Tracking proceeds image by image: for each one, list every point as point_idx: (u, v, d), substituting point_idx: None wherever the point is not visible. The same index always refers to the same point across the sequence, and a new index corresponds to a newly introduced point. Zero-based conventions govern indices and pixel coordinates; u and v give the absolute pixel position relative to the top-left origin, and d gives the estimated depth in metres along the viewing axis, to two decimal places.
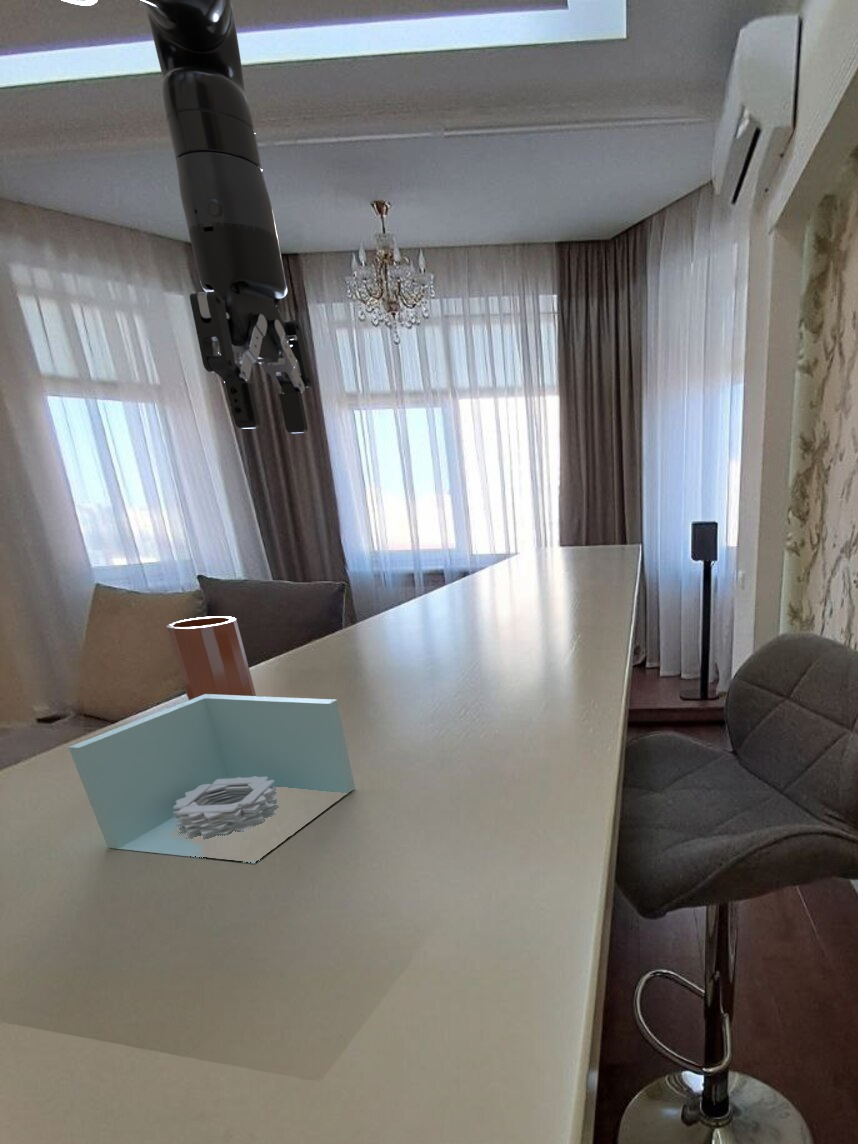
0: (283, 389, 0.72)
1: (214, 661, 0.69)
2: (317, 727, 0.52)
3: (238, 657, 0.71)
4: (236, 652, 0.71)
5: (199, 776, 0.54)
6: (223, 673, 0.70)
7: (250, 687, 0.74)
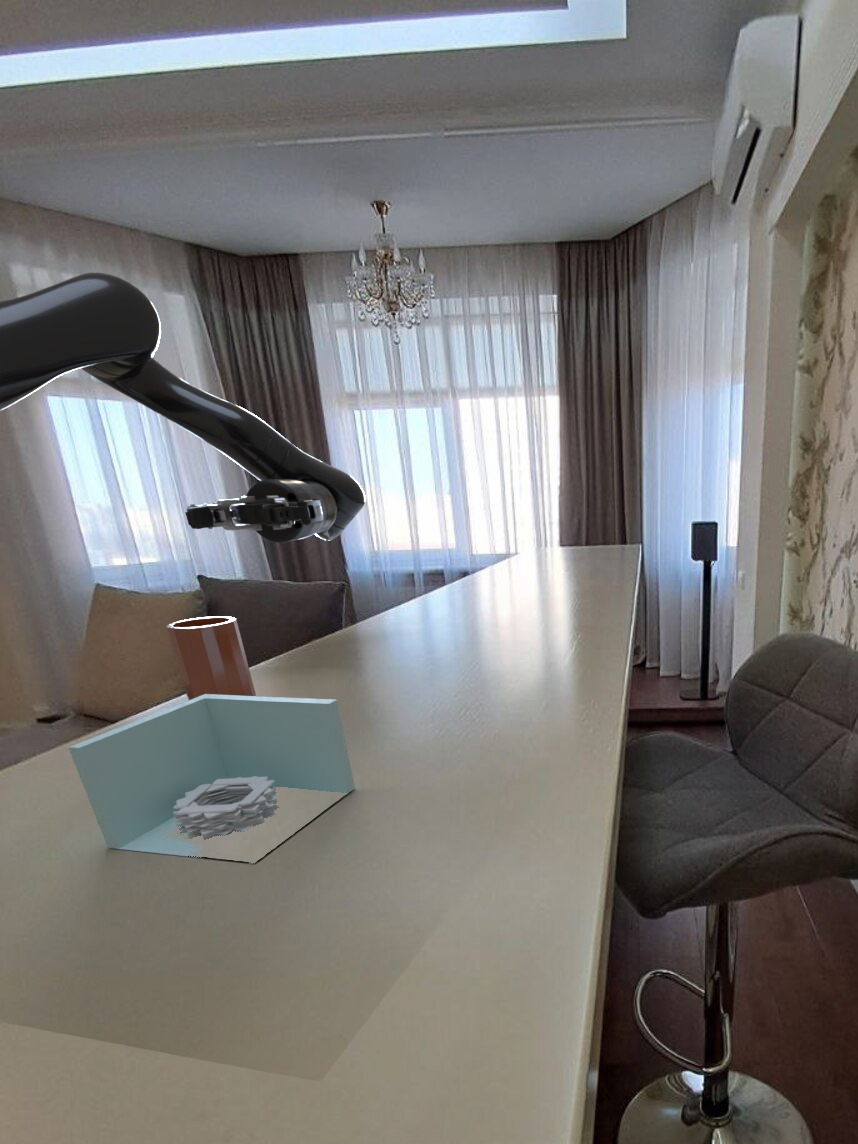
0: (209, 510, 0.80)
1: (214, 661, 0.69)
2: (317, 727, 0.52)
3: (238, 657, 0.71)
4: (236, 652, 0.71)
5: (199, 776, 0.54)
6: (223, 673, 0.70)
7: (250, 687, 0.74)
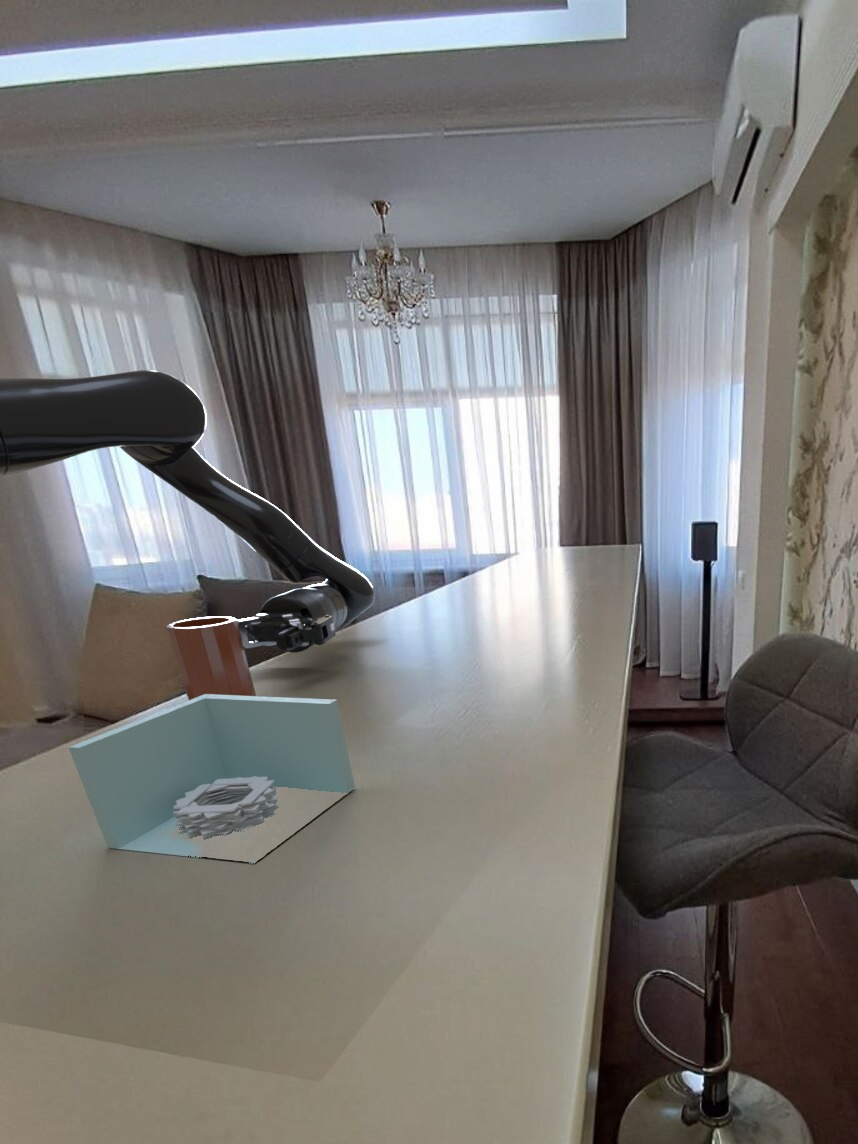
0: None
1: (214, 661, 0.69)
2: (317, 727, 0.52)
3: (238, 657, 0.71)
4: (236, 652, 0.71)
5: (199, 776, 0.54)
6: (223, 673, 0.70)
7: (250, 687, 0.74)
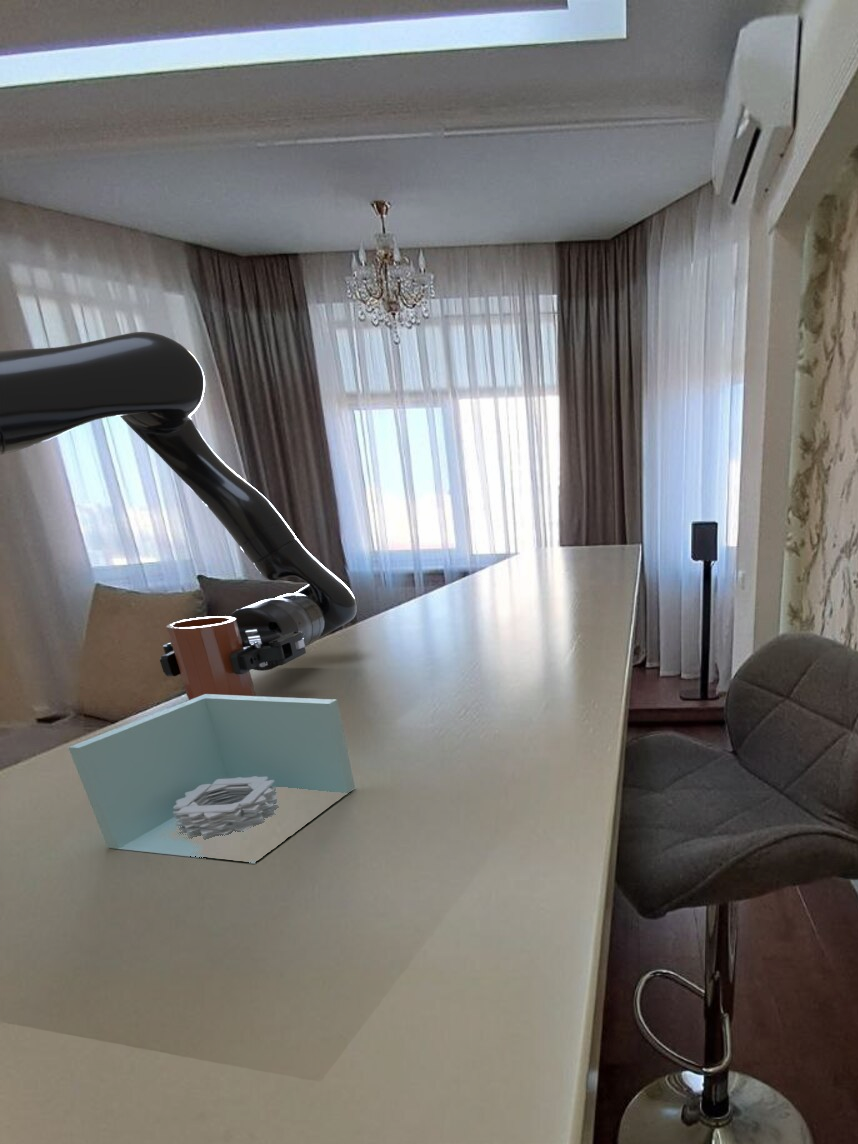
0: None
1: (214, 661, 0.69)
2: (317, 727, 0.52)
3: None
4: None
5: (199, 776, 0.54)
6: (223, 673, 0.70)
7: (250, 687, 0.74)
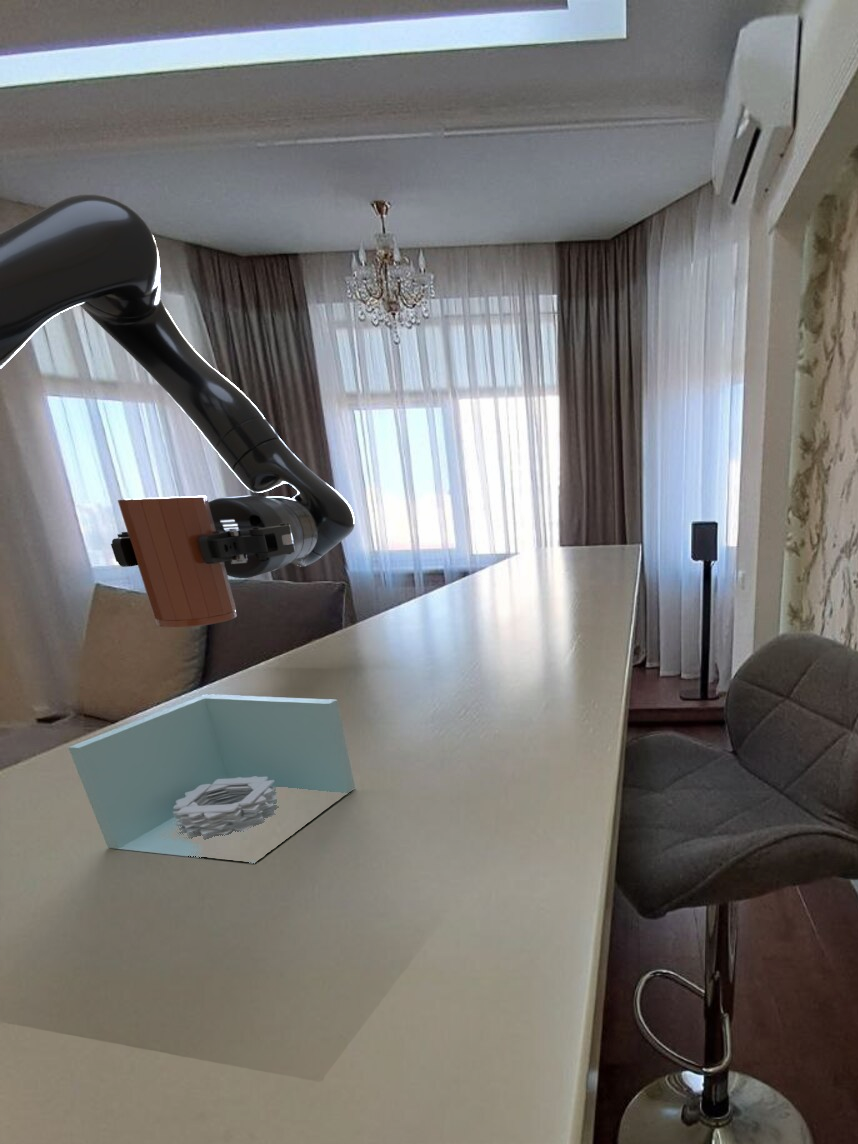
0: None
1: (178, 545, 0.55)
2: (317, 727, 0.52)
3: None
4: None
5: (199, 776, 0.54)
6: (190, 561, 0.56)
7: (225, 584, 0.60)
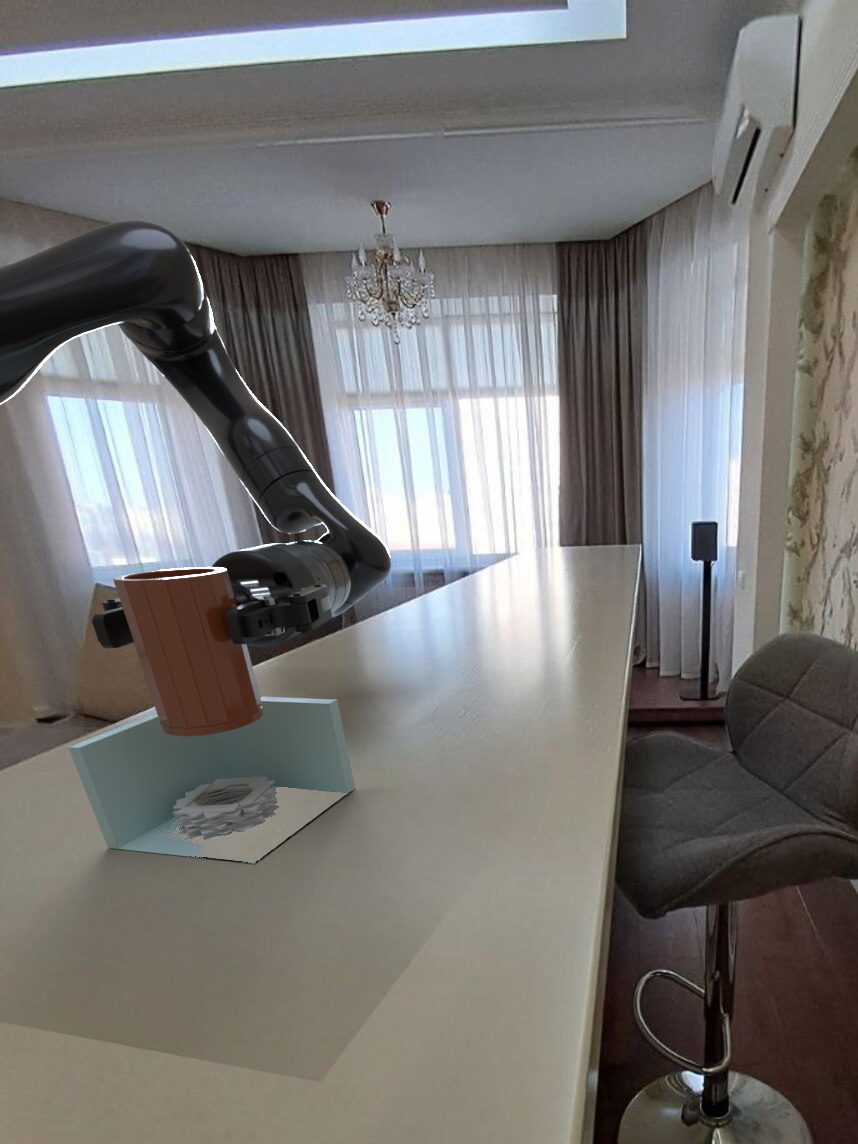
0: None
1: (191, 635, 0.43)
2: (317, 727, 0.52)
3: None
4: None
5: (199, 776, 0.54)
6: (206, 655, 0.44)
7: (250, 678, 0.47)
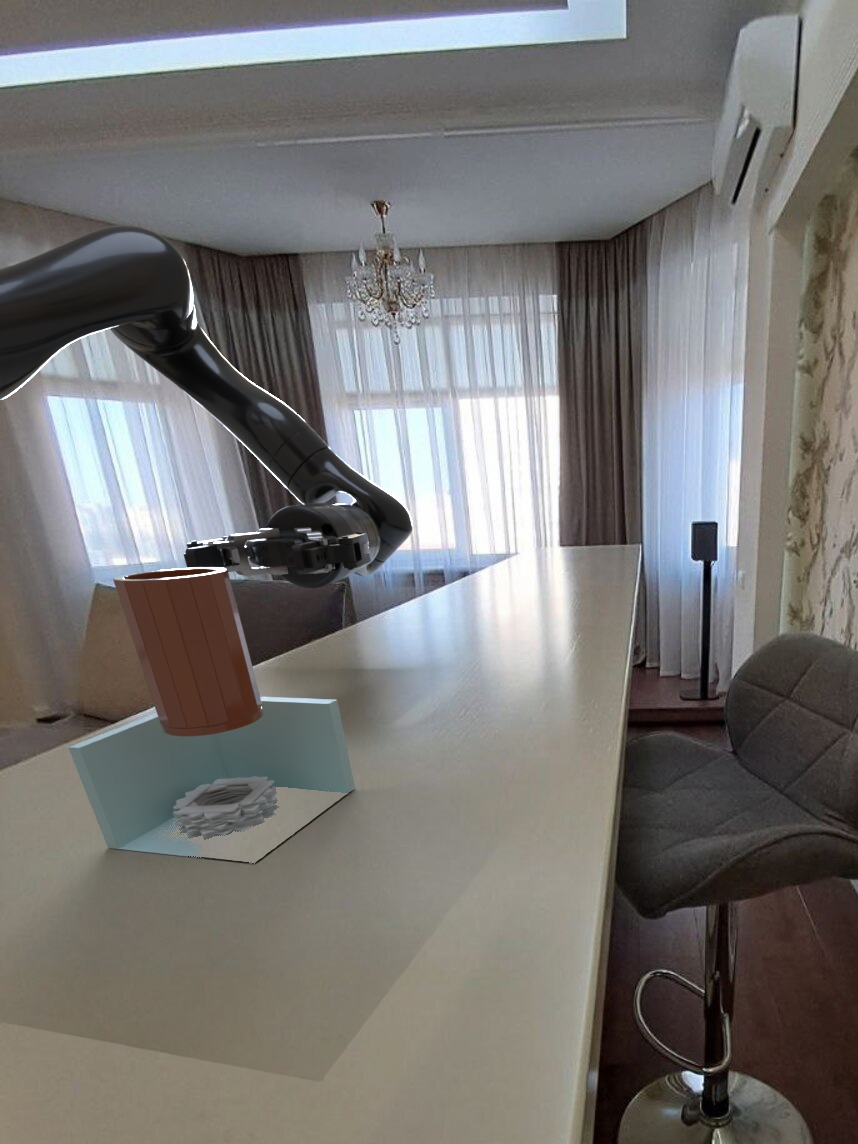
0: (217, 550, 0.58)
1: (191, 636, 0.43)
2: (317, 727, 0.52)
3: (231, 630, 0.45)
4: (227, 622, 0.45)
5: (199, 776, 0.54)
6: (206, 655, 0.44)
7: (250, 679, 0.47)
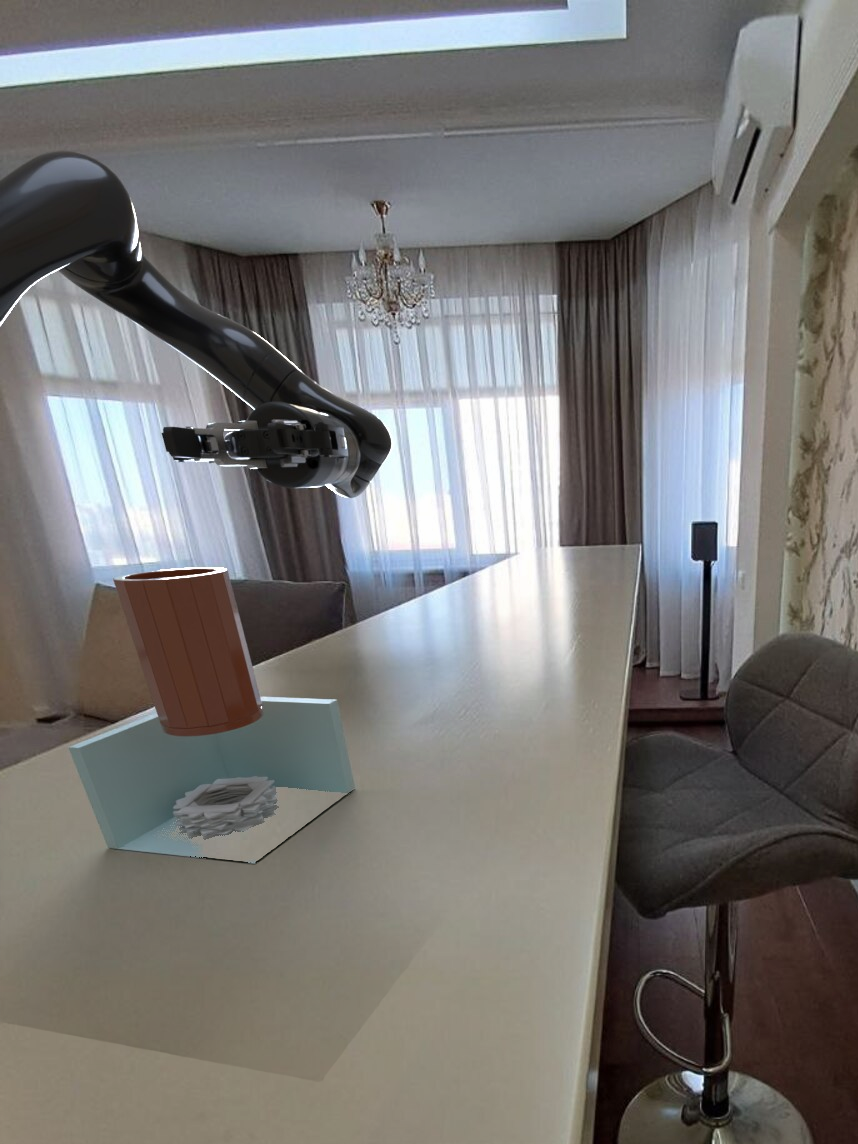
0: (195, 436, 0.59)
1: (191, 636, 0.43)
2: (317, 727, 0.52)
3: (231, 630, 0.45)
4: (227, 622, 0.45)
5: (199, 776, 0.54)
6: (206, 655, 0.44)
7: (250, 679, 0.47)
